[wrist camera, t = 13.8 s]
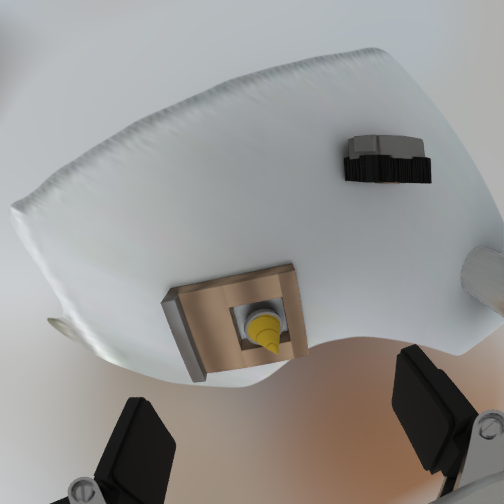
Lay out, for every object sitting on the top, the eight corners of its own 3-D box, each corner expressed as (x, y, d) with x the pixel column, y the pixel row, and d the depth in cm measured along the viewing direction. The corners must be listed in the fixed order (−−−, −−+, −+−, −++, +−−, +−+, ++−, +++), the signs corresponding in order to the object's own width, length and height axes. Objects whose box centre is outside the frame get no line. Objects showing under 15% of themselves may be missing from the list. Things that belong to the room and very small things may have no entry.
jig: (291, 263, 39) (297, 275, 34) (305, 344, 43) (311, 362, 38) (170, 288, 40) (160, 302, 35) (197, 363, 44) (193, 382, 39)
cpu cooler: (399, 144, 35) (439, 138, 25) (401, 182, 36) (441, 186, 26) (335, 141, 35) (363, 131, 25) (338, 182, 36) (367, 185, 27)
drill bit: (240, 301, 40) (256, 338, 31) (275, 298, 41) (300, 332, 32) (240, 333, 41) (255, 374, 32) (274, 329, 43) (296, 367, 33)
